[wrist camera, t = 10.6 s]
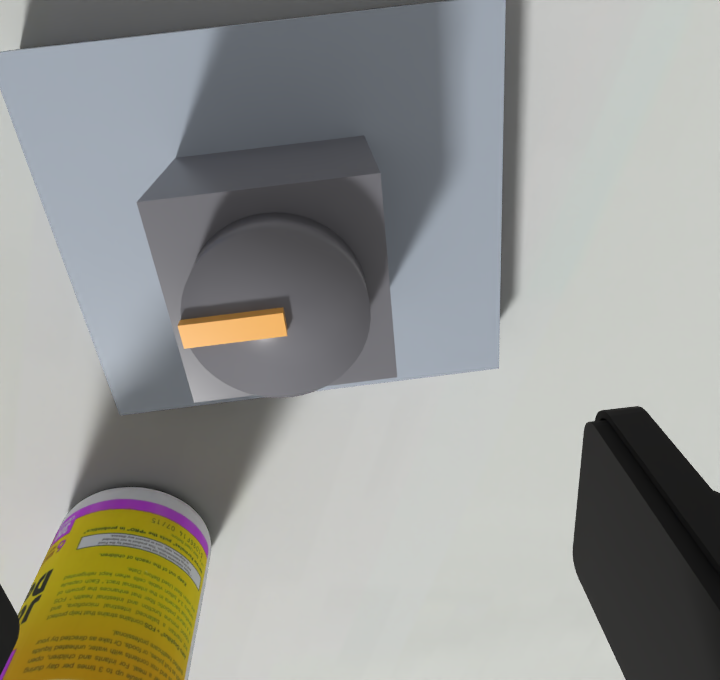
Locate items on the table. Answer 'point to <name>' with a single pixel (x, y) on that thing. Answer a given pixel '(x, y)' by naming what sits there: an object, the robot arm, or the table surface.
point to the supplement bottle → (116, 592)
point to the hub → (265, 129)
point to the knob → (274, 268)
